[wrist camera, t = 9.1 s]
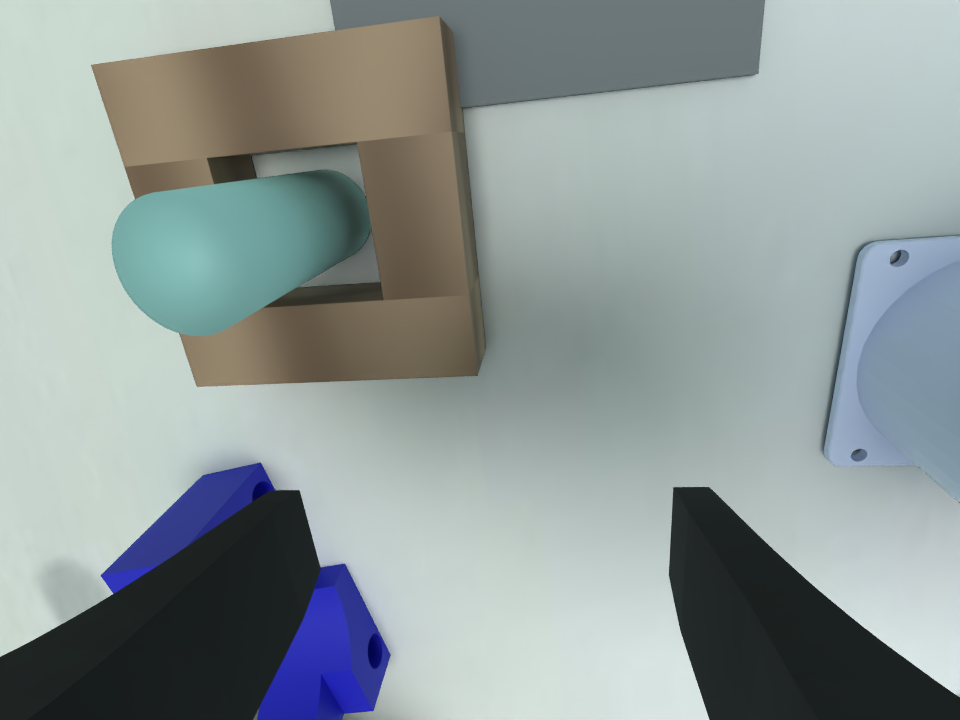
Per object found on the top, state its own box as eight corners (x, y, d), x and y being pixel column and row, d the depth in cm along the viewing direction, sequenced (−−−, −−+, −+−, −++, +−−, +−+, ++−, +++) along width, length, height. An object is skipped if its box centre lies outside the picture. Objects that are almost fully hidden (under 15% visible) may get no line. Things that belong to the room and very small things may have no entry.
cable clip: (391, 651, 27) (351, 785, 21) (313, 661, 28) (254, 791, 22) (292, 453, 23) (210, 555, 17) (204, 473, 23) (100, 575, 18)
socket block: (455, 34, 16) (439, 15, 13) (485, 347, 19) (477, 375, 17) (152, 75, 17) (90, 65, 15) (235, 359, 21) (196, 386, 18)
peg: (365, 168, 17) (233, 189, 10) (376, 258, 19) (264, 336, 11) (279, 171, 18) (92, 193, 10) (295, 259, 19) (135, 335, 12)
